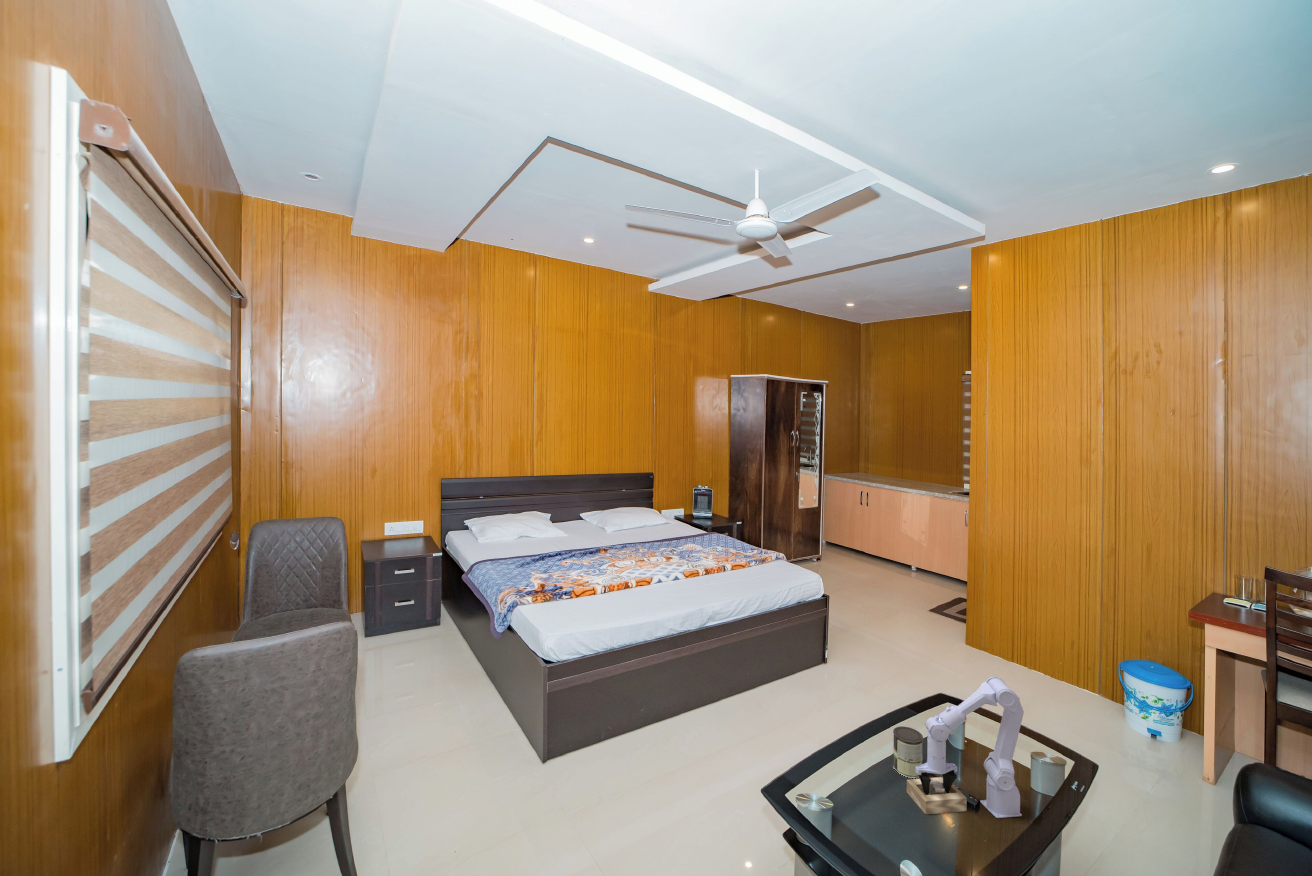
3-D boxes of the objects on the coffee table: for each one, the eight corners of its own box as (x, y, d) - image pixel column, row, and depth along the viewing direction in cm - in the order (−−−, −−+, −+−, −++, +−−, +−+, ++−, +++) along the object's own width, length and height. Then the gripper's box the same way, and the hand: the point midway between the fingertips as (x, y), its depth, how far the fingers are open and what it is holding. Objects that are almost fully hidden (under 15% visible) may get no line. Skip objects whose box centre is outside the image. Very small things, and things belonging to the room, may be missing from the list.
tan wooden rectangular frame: (945, 789, 192) (945, 776, 191) (966, 810, 181) (966, 798, 180) (906, 792, 190) (906, 779, 190) (925, 814, 179) (925, 801, 179)
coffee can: (886, 764, 205) (887, 728, 205) (908, 759, 209) (908, 724, 208) (907, 781, 196) (907, 744, 195) (929, 775, 199) (929, 738, 199)
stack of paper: (937, 797, 187) (937, 778, 187) (944, 805, 183) (944, 786, 183) (928, 798, 187) (928, 779, 187) (935, 806, 183) (935, 787, 183)
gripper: (948, 745, 190) (947, 783, 190) (910, 748, 188) (910, 786, 188) (961, 758, 183) (961, 796, 183) (922, 761, 181) (922, 800, 181)
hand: (936, 792), depth 185 cm, fingers open, 7 cm apart
